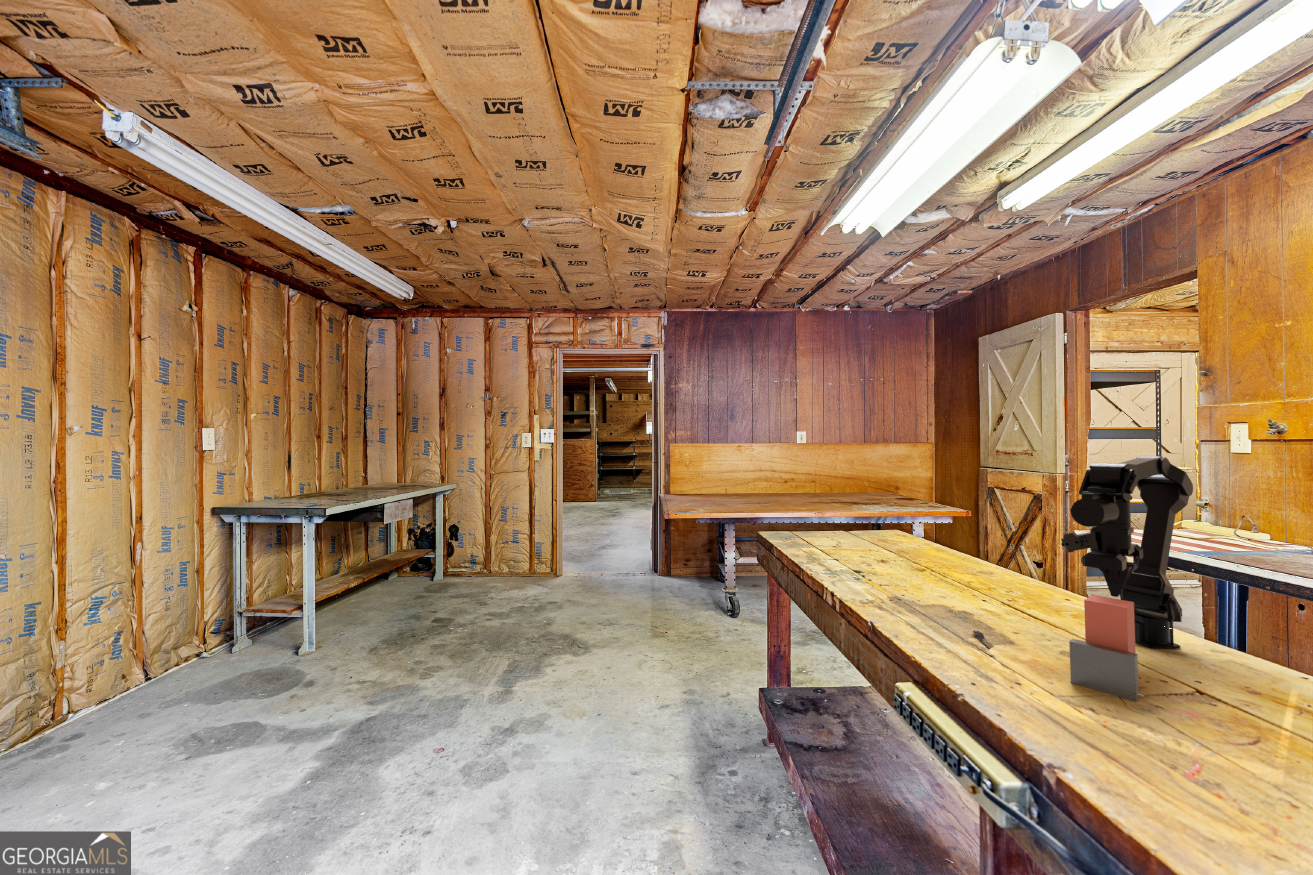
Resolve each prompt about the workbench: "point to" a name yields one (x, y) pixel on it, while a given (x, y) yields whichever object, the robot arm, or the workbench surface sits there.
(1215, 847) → the workbench surface
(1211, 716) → the workbench surface
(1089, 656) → the plate
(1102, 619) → the red block on plate
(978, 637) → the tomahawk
